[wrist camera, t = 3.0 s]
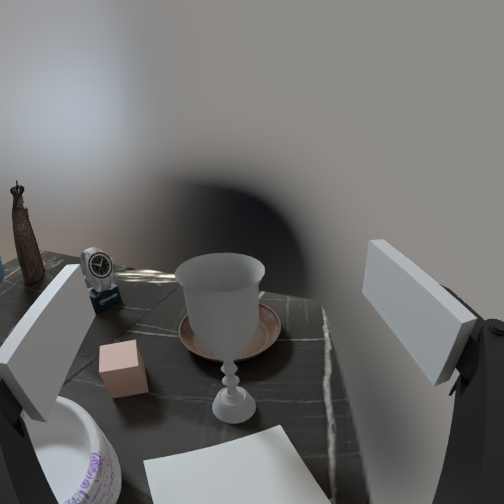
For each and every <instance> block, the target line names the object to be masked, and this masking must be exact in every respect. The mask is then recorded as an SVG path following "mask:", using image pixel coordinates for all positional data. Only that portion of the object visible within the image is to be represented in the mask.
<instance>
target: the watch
mask: <svg viewBox="0 0 504 504" xmlns="http://www.w3.org/2000/svg"><path fill="white" fill-rule="evenodd" d="M112 262H113V260H112V258H111V259H110V257H109V256H108V255H107V254H105V253H104V252H102V251H101V250H100V249H97V248H95V247H91V248H89V249H87V250H84V251H82V252H81V263H82V269H83V271H84V274H85V276H86V279H87V280H88V282H89V284H91V285H92V287H91V288H89V289H87V290H88V293H89V297H90V300H91V303H92V306H93V309H94V310H96V311H97V312H98V313H99V312H101V311H103V310H105V309H106V308H108V307H110V306H112V305H113V304H115V303H117V302H119V301H120V300H121V297H120V293H119V289H118V286H117V285H115V284H114V283H112V278H113V272H112V271H113V263H112Z"/></svg>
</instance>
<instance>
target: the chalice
mask: <svg viewBox="0 0 504 504" xmlns="http://www.w3.org/2000/svg"><path fill="white" fill-rule="evenodd" d="M264 274H265V269H264V266H263V265H262V263H261V262H260V261H258V260H256V259H254V258H252V257H249V256H246V255H242V254H234V253H216V254H215V253H214V254H207V255H203V256H198V257H195V258H192V259H190V260H188V261H186V262H184V263H183V264H181V265H180V266H179V267H178V268H177V270H176V272H175V277H176V280H177V282H178V283H179V284H180V285H181V287H182V288H183V289H184V294H185V300H186V306H187V312H188V318H189V323H190V327H191V329H192V330H193V332H194V333H195V335H196V336H197V338H198V339H199V341H200V342H201V343H202V344H203V345H204V346H205V347H206V348H207V350H208V351H209V352H210V353H211V354H212V355H213V356H214V357H215V358H216V359H218V360H220V361H224V364H223V366H222V367H221V370H222V372H223V373H225V377H224V378H223V379H222V382H223V384H224V385H226V386H227V387H225V388H223V389H222V390H221V391H219V393H218V394H217V397H216V398H215V401H214V402H213V406H212V409H213V413H214V415H215V416H216V417H217V418H218V419H220V420H221V421H223V422H226V423H234V424H236V423H241V422H244V421H246V420H248V419H249V418H250V417H251V416H252V415H253V414H254V412H255V410H256V404H255V401H254V399H253V398H252V397H251V396H250V395H249V394H248V392H247V391H246V390H245V389H243V388H242V387H239V386H236V385H237V384H238V383H239V378H238V377H237V376H235V372H236V371H237V366H236V365H235V364H234V362H233V361H234V360H236V359H238V358H239V357H240V356H241V355H242V353H243V352H244V350H245V349H246V347H247V346H248V344H249V343H250V341H251V339H252V338H253V335H254V333H255V331H256V328H257V326H258V323H259V296H258V284H259V282H260V281H261V279H262V277H263V275H264Z"/></svg>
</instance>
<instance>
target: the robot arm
mask: <svg viewBox="0 0 504 504" xmlns="http://www.w3.org/2000/svg"><path fill="white" fill-rule="evenodd" d="M3 279H4V270H3V265H2V261H1V257H0V283H1V282H2V281H3ZM362 293H363V294H364V295H365V296H366V298H367V299H368V300H369V301H370V303H371V304H372V305H373V306H374V308H375V309H376V310H377V312H378V313H379V314H380V315H381V316H382V318H383V319H384V320H385V322H386V323H387V324H388V326H389V327H390V328H391V329H392V331H393V332H394V333H395V335H396V336H397V337H398V339H399V340H400V341H401V342H402V344H403V345H404V346H405V348H406V349H407V350H408V352H409V353H410V354H411V356H412V357H413V358H414V360H415V361H416V363H417V364H418V365H419V367H420V368H421V369H422V371H423V372H424V373H425V375H426V376H427V378H428V379H429V380H430V382H431V383H432V385H433V386H436V385H439V384H441V383H443V382H446V381H448V380H449V379H450V377H451V376H452V374H453V371H454V370H455V368H456V369H457V370H458V371H459V373H460V375H459V376H458V378H457V380H456V382H455V384H454V386H453V388H452V389H451V391H450V394H449V395H450V396H451V395H452V394H453V392H454V391H455V390H456V393H455V402H454V410H453V417H452V423H451V429H450V435H449V440H448V446H447V451H446V455H445V459H444V464H443V468H442V472H441V476H440V479H439V483H438V486H437V490H436V493H435V496H434V500H433V503H432V504H504V322H502V321H500V320H497V319H488V320H486V321H485V320H483V318H482V317H480V316H479V315H478V314H477V313H476V312H475V311H474V310H473V309H472V308H471V307H469V306H468V305H467V304H466V303H464V302H463V300H462V299H460V298H459V297H457V295H456V294H455V293H453V292H452V291H451V290H450V289H448V288H446V287H444V286H442V285H440V284H438V283H437V282H436V281H435V280H433V279H432V278H431V277H430V276H429V275H427V274H426V273H425V272H424V271H423V270H421V269H420V268H419V267H418V266H416V265H415V264H414V263H413V262H411V261H410V260H409V259H408V258H406V257H405V256H404V255H403V254H401V253H400V252H399V251H398V250H396V249H395V248H394V247H392V246H391V245H390V244H388V243H387V242H386V241H385V240H383V239H381V240H369V246H368V255H367V262H366V269H365V277H364V283H363V290H362ZM95 316H96V315H95V312H94V309H93V306H92V303H91V300H90V297H89V293H88V290H87V287H86V284H85V280H84V277H83V273H82V270H81V266H80V264H74V265H66V266H65V267H64V268H63V270H62V271H61V272H60V273H59V274H58V275H57V276H56V277H55V279H54V280H53V281H52V282H51V283H50V284H49V285H48V287H47V288H46V289H45V290H44V291H43V293H42V294H41V295H40V296H39V297H38V299H37V300H36V301H35V302H34V304H33V305H32V306H31V307H30V309H29V310H28V311H27V312H26V314H25V315H24V316H23V317H22V319H21V320H20V321H19V322H18V323H17V324H16V325H15V326H14V327H12V329H11V330H10V331H9V333H8V334H7V335H6V338H4V339H3V341H2V342H1V344H0V504H59V503H58V501H57V499H56V497H55V495H54V493H53V491H52V489H51V487H50V485H49V483H48V481H47V479H46V477H45V474H44V472H43V470H42V467H41V465H40V463H39V460H38V458H37V455H36V453H35V450H34V448H33V445H32V442H31V439H30V437H29V434H28V431H27V428H26V425H25V422H24V420H23V418H22V417H21V416H20V414H21V412H22V410H23V409H24V411H25V412H26V413H27V415H28V416H29V417H30V418H31V419H32V420H36V421H41V422H45V423H47V422H48V419H49V417H50V414H51V411H52V409H53V406H54V404H55V401H56V399H57V397H58V394H59V392H60V389H61V387H62V385H63V382H64V380H65V378H66V376H67V373H68V371H69V369H70V367H71V364H72V362H73V360H74V358H75V356H76V354H77V352H78V349H79V347H80V345H81V343H82V341H83V339H84V337H85V335H86V333H87V331H88V329H89V327H90V325H91V323H92V321H93V319H94V317H95Z"/></svg>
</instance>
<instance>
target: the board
mask: <svg viewBox="0 0 504 504" xmlns="http://www.w3.org/2000/svg"><path fill="white" fill-rule="evenodd" d="M144 465H145V470H146V474H147V479H148V483H149V487H150V491H151V495H152V499H153V503H154V504H331V502H330V501H329V500H328V498H327V497H326V495H325V494H324V492H323V491H322V489H321V488H320V486H319V485H318V483H317V482H316V480H315V479H314V477H313V476H312V474H311V473H310V471H309V470H308V468H307V467H306V465H305V464H304V462H303V461H302V459H301V457H300V456H299V454H298V453H297V451H296V450H295V448H294V446H293V445H292V443H291V442H290V440H289V438H288V437H287V435H286V434H285V432H284V430H283V429H282V427H281V425H278V426H276V427H273V428H270V429H267V430H264V431H261V432H258V433H255V434H252V435H249V436H246V437H243V438H240V439H236V440H233V441H230V442H226V443H223V444H219V445H215V446H212V447H208V448H204V449H200V450H195V451H191V452H187V453H182V454H177V455H173V456H167V457H162V458H157V459H151V460H144Z"/></svg>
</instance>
